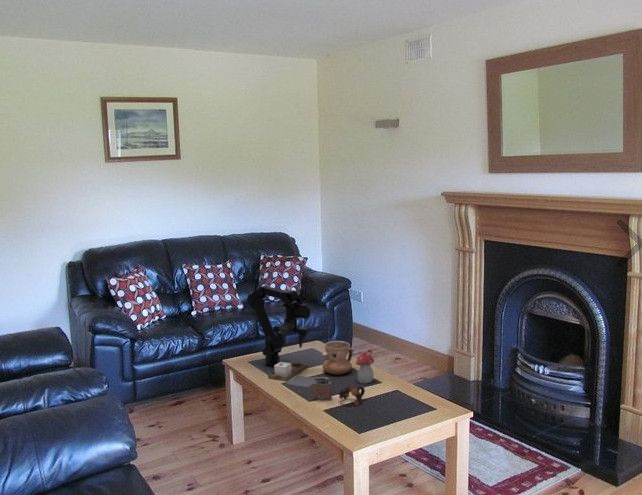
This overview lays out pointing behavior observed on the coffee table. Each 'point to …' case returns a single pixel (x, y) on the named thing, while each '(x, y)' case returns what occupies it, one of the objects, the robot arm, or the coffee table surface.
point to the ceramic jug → (337, 357)
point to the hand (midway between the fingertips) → (292, 346)
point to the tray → (296, 370)
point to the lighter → (322, 389)
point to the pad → (302, 381)
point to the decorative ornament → (365, 367)
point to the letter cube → (283, 369)
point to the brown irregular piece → (353, 393)
